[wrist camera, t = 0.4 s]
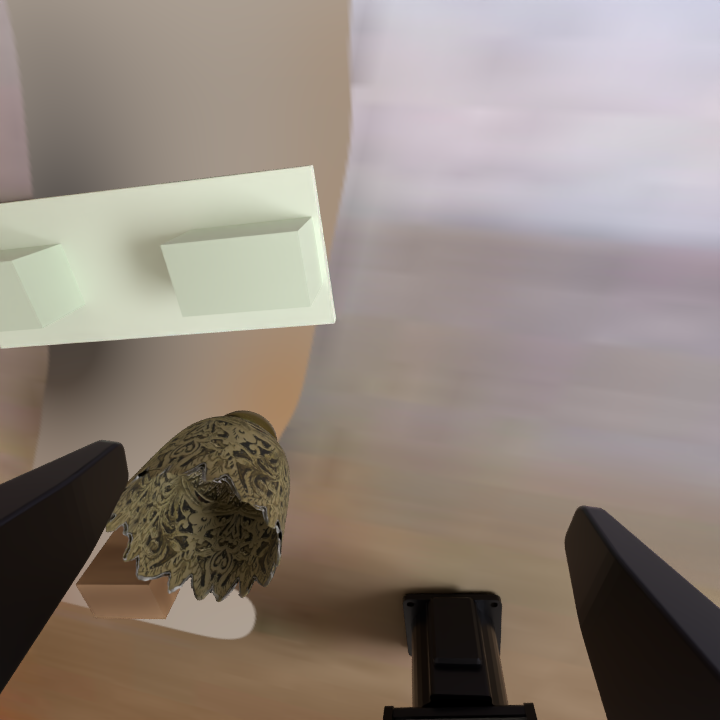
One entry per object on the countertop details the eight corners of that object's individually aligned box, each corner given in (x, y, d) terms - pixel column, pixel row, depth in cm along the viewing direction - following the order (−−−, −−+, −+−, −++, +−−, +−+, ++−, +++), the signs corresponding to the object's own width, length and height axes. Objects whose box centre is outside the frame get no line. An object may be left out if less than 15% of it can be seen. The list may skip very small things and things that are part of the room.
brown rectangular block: (199, 548, 31) (165, 618, 27) (138, 549, 32) (95, 618, 27) (187, 516, 30) (148, 584, 25) (123, 517, 30) (75, 584, 26)
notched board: (335, 318, 22) (324, 350, 19) (9, 343, 25) (-49, 376, 22) (312, 164, 19) (294, 172, 16) (-58, 210, 22) (-138, 225, 18)
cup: (170, 376, 25) (76, 476, 18) (303, 373, 24) (260, 477, 17) (202, 481, 28) (134, 601, 21) (319, 482, 27) (290, 606, 20)
